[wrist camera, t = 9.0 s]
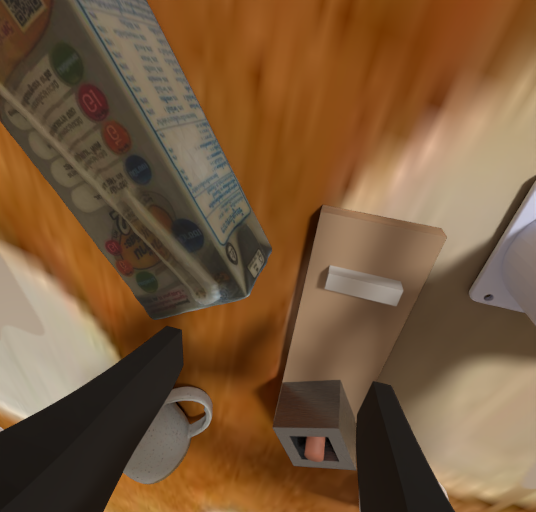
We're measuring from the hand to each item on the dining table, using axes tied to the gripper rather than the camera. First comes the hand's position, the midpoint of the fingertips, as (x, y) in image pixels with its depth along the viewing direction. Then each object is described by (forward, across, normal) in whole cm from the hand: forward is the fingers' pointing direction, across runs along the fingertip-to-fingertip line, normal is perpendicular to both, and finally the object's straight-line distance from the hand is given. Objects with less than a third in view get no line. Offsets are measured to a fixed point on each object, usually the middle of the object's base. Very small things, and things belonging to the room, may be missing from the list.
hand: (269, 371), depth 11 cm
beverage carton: (+11, +10, -5) cm, 16 cm away
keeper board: (+10, -4, +8) cm, 14 cm away
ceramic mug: (+11, +11, +23) cm, 27 cm away
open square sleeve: (+9, -4, +14) cm, 17 cm away
